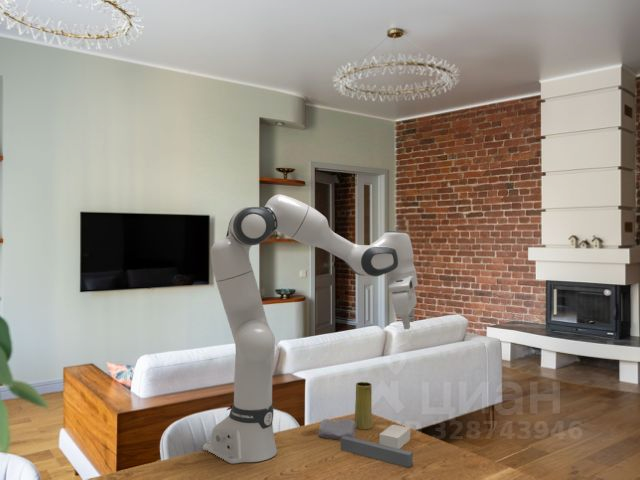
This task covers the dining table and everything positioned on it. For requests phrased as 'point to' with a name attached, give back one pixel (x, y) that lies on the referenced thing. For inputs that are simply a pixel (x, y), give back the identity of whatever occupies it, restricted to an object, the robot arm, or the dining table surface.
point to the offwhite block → (395, 436)
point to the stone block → (337, 428)
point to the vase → (363, 405)
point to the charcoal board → (377, 451)
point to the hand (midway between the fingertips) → (409, 325)
